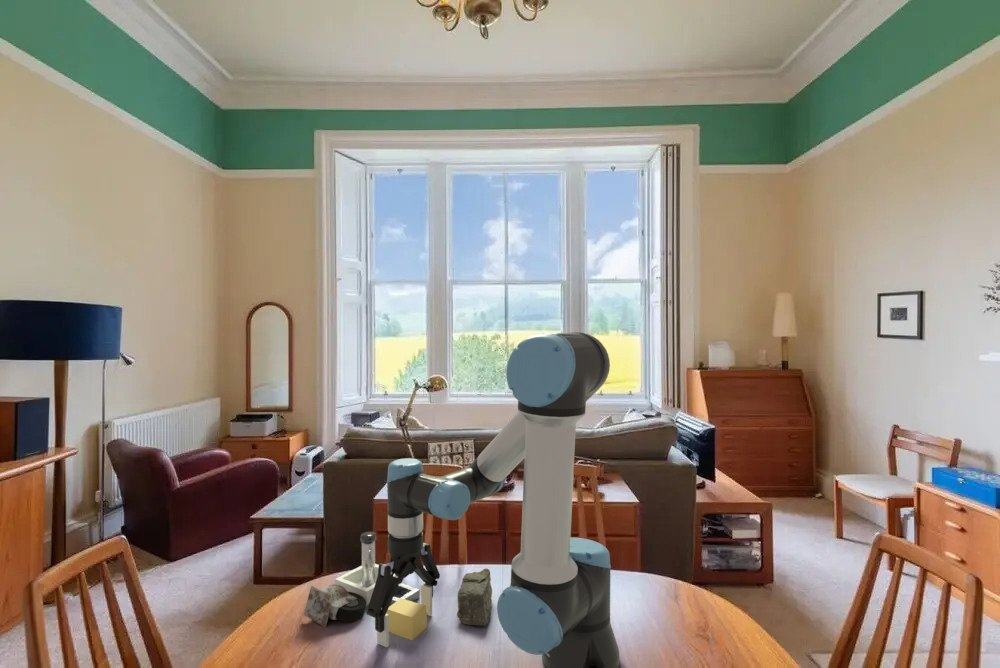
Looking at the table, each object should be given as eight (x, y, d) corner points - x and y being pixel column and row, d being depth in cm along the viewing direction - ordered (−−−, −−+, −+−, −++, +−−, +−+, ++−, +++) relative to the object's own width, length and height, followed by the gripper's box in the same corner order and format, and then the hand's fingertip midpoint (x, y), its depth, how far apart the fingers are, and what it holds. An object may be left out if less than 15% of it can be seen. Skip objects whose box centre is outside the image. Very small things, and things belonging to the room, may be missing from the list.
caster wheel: (368, 621, 122) (339, 638, 113) (332, 600, 127) (301, 615, 118) (376, 593, 122) (347, 608, 113) (339, 573, 127) (309, 586, 118)
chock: (426, 628, 115) (426, 606, 115) (412, 640, 111) (412, 617, 110) (401, 620, 118) (401, 598, 118) (386, 631, 114) (386, 608, 114)
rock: (447, 575, 129) (486, 561, 131) (455, 601, 130) (493, 587, 131) (454, 610, 113) (499, 593, 114) (463, 640, 113) (507, 623, 115)
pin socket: (419, 597, 128) (419, 589, 128) (399, 611, 122) (399, 602, 122) (398, 589, 131) (398, 581, 131) (377, 602, 126) (377, 594, 126)
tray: (400, 586, 133) (400, 572, 133) (366, 606, 124) (366, 591, 124) (369, 574, 139) (369, 561, 139) (335, 593, 130) (335, 579, 130)
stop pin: (368, 592, 129) (367, 539, 129) (357, 588, 131) (357, 535, 131) (379, 586, 132) (379, 533, 132) (369, 582, 134) (368, 530, 134)
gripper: (430, 510, 127) (430, 597, 127) (348, 548, 106) (349, 652, 106) (454, 517, 122) (455, 607, 123) (374, 557, 102) (375, 666, 102)
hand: (405, 628), depth 115 cm, fingers open, 13 cm apart
